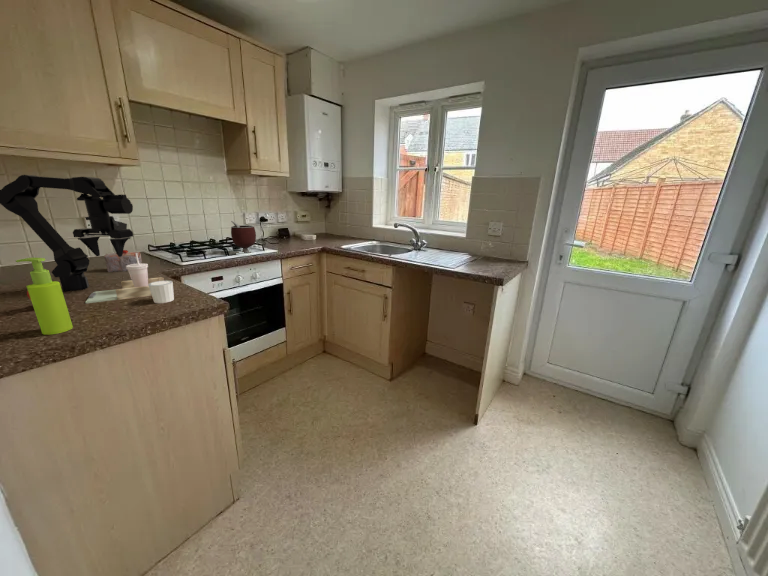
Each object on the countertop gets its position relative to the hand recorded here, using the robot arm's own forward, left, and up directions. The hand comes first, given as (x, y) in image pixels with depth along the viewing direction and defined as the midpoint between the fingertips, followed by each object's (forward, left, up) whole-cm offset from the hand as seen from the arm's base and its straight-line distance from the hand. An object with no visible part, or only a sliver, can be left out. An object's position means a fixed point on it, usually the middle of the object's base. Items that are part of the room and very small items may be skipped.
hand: (109, 256), depth 116 cm
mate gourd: (+55, +57, -13) cm, 80 cm away
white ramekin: (+16, -26, -13) cm, 33 cm away
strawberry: (-16, -16, -13) cm, 26 cm away
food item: (-1, +38, -13) cm, 40 cm away
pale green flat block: (-2, -11, -13) cm, 17 cm away
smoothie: (+9, -11, -12) cm, 18 cm away
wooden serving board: (+9, -11, -13) cm, 19 cm away
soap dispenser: (-8, -39, -13) cm, 42 cm away
